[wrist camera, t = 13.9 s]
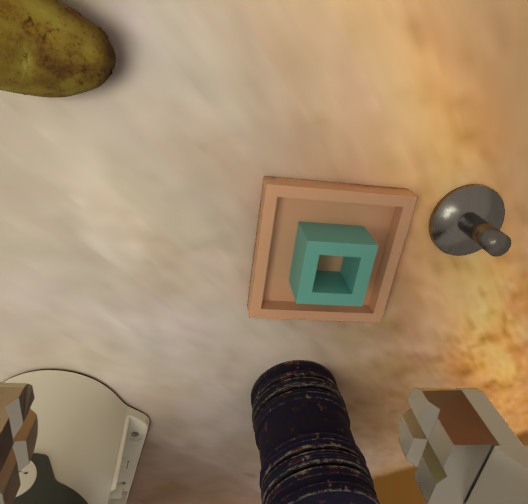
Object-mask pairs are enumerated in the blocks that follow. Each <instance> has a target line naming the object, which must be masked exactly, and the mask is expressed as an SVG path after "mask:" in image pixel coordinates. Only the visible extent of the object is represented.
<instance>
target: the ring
mask: <svg viewBox="0 0 528 504" xmlns="http://www.w3.org/2000/svg"><path fill="white" fill-rule="evenodd" d="M377 249H378V244H377V243H376V242H375V240H374V239H373V238H372V236H371V235H370V234H369V233H368V231H367V230H366V229H365V227H364V226H357V225H343V224H330V223H316V222H302V221H299V222H298V227H297V233H296V239H295V245H294V251H293V257H292V263H291V268H290V274H289V283H290V286H291V289H292V293H293V296H294V299H295V302H296V304H317V305H341V306H363V302H364V298H365V294H366V291H367V287H368V283H369V279H370V276H371V272H372V268H373V264H374V260H375V257H376V253H377ZM319 255H329V256H343V261H342V265H341V269H340V272H339V271H321V270H317V265H318V260H319Z"/></svg>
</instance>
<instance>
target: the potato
mask: <svg viewBox="0 0 528 504" xmlns="http://www.w3.org/2000/svg"><path fill="white" fill-rule="evenodd" d="M115 63H116V58H115V53H114V49H113V47H112V45H111V43H110V41H109V40H108V37H107V35H106V33H105V32H104V31H103V30H102V29H101V28H100V27H97V26H96V25H94V24H93V23H92V22H90V21H89V20H87V19H86V18H84V17H83V16H81V14H80V13H78V12H77V11H75V10H74V9H72V8H70V7H66V6H65V5H63V4H61V3H59V2H58V1H57V0H0V90H4V91H9V92H13V93H20V94H24V95H34V96H42V97H67V96H71V95H75V94H79V93H82V92H86V91H89V90H92V89H94V88H97V87H99V86H100V85H102V84H103V83H104V82H105V81H106V80H107V79H108V77H109V76H110V75H111V74H112V70H113V68H114V66H115Z"/></svg>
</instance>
